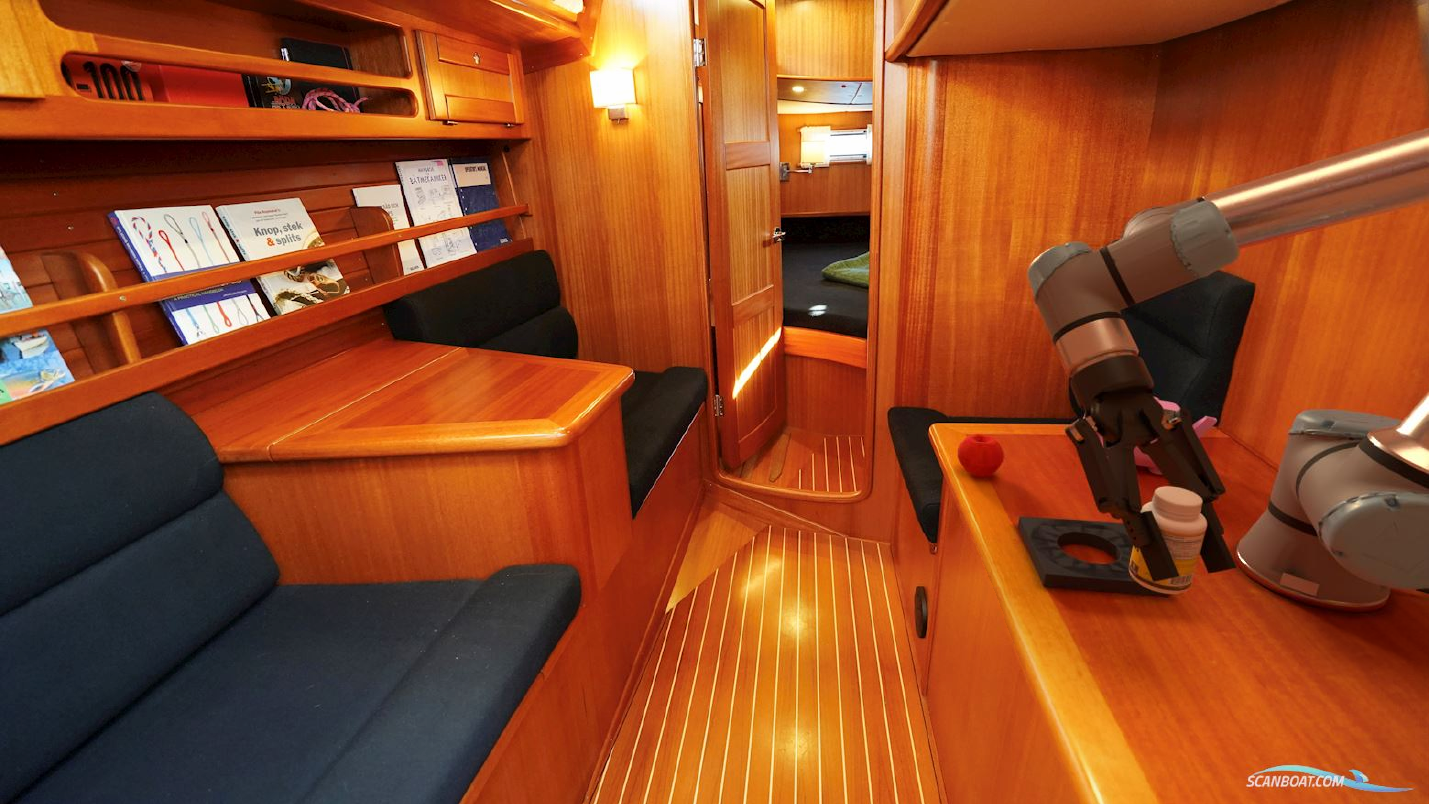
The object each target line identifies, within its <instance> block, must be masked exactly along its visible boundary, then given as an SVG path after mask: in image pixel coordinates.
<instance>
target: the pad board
mask: <svg viewBox="0 0 1429 804" xmlns="http://www.w3.org/2000/svg"><path fill="white" fill-rule="evenodd" d="M1017 522H1018V523H1017V529H1018V531H1019V533H1020V535H1021V536H1020V537H1021V538H1022V540H1023V543H1024V545H1025V548H1026V550H1027V552H1028V554H1029V556H1030V559H1031V561H1032V563H1033V565H1034V568H1035V570H1036V572H1037V574H1038V576H1039V579H1040V581H1041V584H1042V586H1043V588H1045V587H1047V588H1056V589H1071V590H1080V591H1081V590H1082V591H1094V592H1104V593H1115V594H1116V593H1117V594H1128V595H1129V594H1130V595H1139V596H1152V597H1161V598H1162V597H1164V598H1168V597H1169V596H1170V594H1166V593H1160V592H1156V591H1153V590H1151V589H1148V588H1146V587H1144V586H1142V585H1141V584H1139V583H1138V582H1137V581H1135V580H1134V579H1133V577H1132V576H1131V574H1130V572H1129V563H1130V559H1131V554H1132V549H1133V544H1132V543H1131V541H1130V537H1129V536H1128V533H1127V531H1126V528H1125V526H1124V524H1123V522H1112V521H1099V520H1086V519H1085V520H1082V519H1069V518H1068V519H1067V518H1053V517H1040V516H1039V517H1036V516H1022V515H1020V516H1019V517H1018V521H1017ZM1071 544H1075V545H1076V544H1077V545H1085V546H1089V547H1093V548H1096V549H1099V550H1101V551H1103V552H1105V553H1107V554H1108V555H1109V556H1111V557H1112V558H1113V559H1114V560H1115V561H1114V562H1107V563H1099V562H1090V561H1087V560H1086V561H1085V560H1082V559H1078V558H1076V557H1074V556H1072V555H1070V554H1068V553H1067V552H1065V550H1063V549H1062V548H1061V546H1063V545H1071ZM1169 598H1170V597H1169Z"/></svg>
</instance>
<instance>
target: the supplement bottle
mask: <svg viewBox="0 0 1429 804" xmlns="http://www.w3.org/2000/svg"><path fill="white" fill-rule="evenodd" d="M1201 506H1202V499H1201V497H1200V496H1198V495H1197V494H1195V493H1194V492H1191V491H1189V490H1186V489H1182V488H1178V487H1172V486H1168V485H1167V486H1166V485H1165V486H1160V487H1157V488H1156V489H1155V491H1154V493H1153V497H1152V498H1151V501H1149V502H1147V503H1145V504H1144V505H1142V510H1141V511H1140V512H1141V513H1142V512H1145V511H1152V513H1153V515H1154V517H1155V520H1156V522H1157V524H1158V527H1159V529H1160V531H1161V533H1162V536H1163V538H1164V540H1165V543H1166V545H1167V547H1168V550H1169V552H1170V554H1171V557H1172V559H1173V561H1174V564H1175V566H1176V568H1177V571H1178V573H1179V575H1180V576H1178V577H1174V578H1170V579H1165V580H1161V581H1155V582H1153V580H1152V578H1151V575H1150V573H1149V570H1148V568H1147V566H1146V563H1145V561H1144V558H1143V556H1142V553H1141V551H1140V549H1139V547H1138V548H1135V547H1134V546H1133V549H1132V554H1131V559H1130V563H1129V572H1130V574H1131V576H1132V577H1133V579H1134V580H1135V581H1137V582H1138V583H1139V584H1141V585H1142V586H1144V587H1146V588H1148V589H1151V590H1153V591H1156V592H1160V593H1166V594H1169V595H1179V594H1182V593H1183V594H1184V593H1185V592H1187V591H1188V590H1189V589H1191V586H1192V584H1193V581H1194V576H1195V572H1196V568H1197V565H1198V561H1199V558H1200V550H1201V546H1202V542H1203V539H1204V535H1205V531H1206V528H1207V521H1206V519H1205V517H1204V516H1203V515H1202V514H1201V513H1200V512H1201Z"/></svg>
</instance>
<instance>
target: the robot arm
mask: <svg viewBox="0 0 1429 804" xmlns="http://www.w3.org/2000/svg"><path fill="white" fill-rule="evenodd" d="M1424 203H1429V127H1427V128H1423V129H1419V130H1417V131H1413V132H1410V133H1406V134H1403V135H1399V136H1397V137H1393V138H1390V139H1387V140H1383V141H1379V142H1377V143H1373V144H1369V145H1367V146H1364V147H1360V148H1357V149H1354V150H1350V151H1348V152H1344V153H1340V154H1337V155H1334V156H1330V157H1327V158H1324V159H1320V160H1316V161H1313V162H1310V163H1307V164H1304V165H1300V166H1297V167H1293V168H1291V169H1287V170H1284V171H1283V170H1282V171H1280V172H1278V173H1274V174H1270V175H1267V176H1264V177H1260V178H1257V179H1254V180H1250V181H1248V182H1243V183H1241V184H1237V185H1233V186H1231V187H1227V188H1223V189H1221V190H1217V191H1214V192H1211V193H1207V194H1203V195H1201V196H1199V197H1195V198H1191V199H1187V200H1184V201H1181V202H1177V203H1174V204H1171V205H1168V206H1155V207H1151V208H1148V209H1145V210H1142V211H1140V212H1138V213H1137V214H1136V215H1135V216H1133V217H1132V218H1131V219H1130V220H1129V221H1128V222H1127V224H1126V226H1125V227H1124V229H1123V230H1122V233H1121V236H1120V239H1118V240H1116V241H1114V242H1112V243H1110V244H1109V245H1105V246H1103V247H1101V248H1098V249H1095V250H1093V249H1092V248H1091V247H1090V246H1089V245H1088V244H1087V243H1086V242H1083V241H1068V242H1066V243H1064V244H1063V245H1059V244H1058V245H1054V246H1052V247H1050V248H1049V249H1046V250H1045V251H1044V252H1041V254H1039V255H1038V256H1037V257H1036V258H1035V259H1034V260H1033V261H1032V262H1031V264H1030V265H1029V267H1028V270H1027V279H1028V282H1029V284H1030V288H1031V291H1032V294H1033V300H1034V302H1035V305H1036V307H1037V309H1038V311H1039V313H1040V315H1041V318H1042V321H1043V322H1044V324H1045V327H1046V329H1047V332H1048V334H1049V336H1050V338H1051V339H1050V340H1051V341H1052V343H1053V346H1054V348H1055V352H1056V354H1057V355H1058V358H1059V361H1060V363H1061V366H1062V368H1063V371H1064V373H1065V375H1066V376H1067V377H1068V378H1070V381H1069V386H1070V388H1071V390H1072V393H1073V396H1074V399H1075V400H1076V403H1077V406H1078V407H1079V408H1080V409H1081V410H1083V411H1084V415H1085V419H1084V417H1080V418H1079V419H1076V420H1075V421H1073V422H1072V423H1071V424H1070V425H1068V426H1066V427H1065V428H1064V432H1065V434H1066V436H1067V437H1068V439H1069V440H1070V441H1071V443H1072V444H1073V445H1074V447H1075V449H1076V452H1077V456H1078V458H1079V460H1080V463H1081V466H1082V469H1083V471H1084V475H1085V478H1086V480H1087V484H1088V486H1089V488H1090V491H1091V494H1092V498H1093V500H1094V503H1095V506H1096V509H1097V510H1098V511H1099V513H1101V514H1103V515H1104V514H1110V517H1112V518H1113V519H1114V520H1121V521H1122V523H1123V524H1124V526H1125V528H1126V531H1127V533H1128V536H1129V537H1130V541H1131V543H1132V544H1133V546H1134V547H1135V548H1138V547H1139V549H1140V551H1141V553H1142V556H1143V558H1144V561H1145V563H1146V566H1147V568H1148V570H1149V573H1150V575H1151V578H1152V580H1153V582H1155V581H1161V580H1165V579H1170V578H1174V577H1178V576H1180V575H1179V573H1178V571H1177V568H1176V566H1175V564H1174V561H1173V559H1172V557H1171V554H1170V552H1169V550H1168V547H1167V545H1166V543H1165V540H1164V538H1163V536H1162V533H1161V531H1160V529H1159V527H1158V524H1157V522H1156V520H1155V517H1154V515H1153V513H1152V511H1145V512H1142V513H1141V510H1142V507H1143V504H1142V498H1141V497H1142V496H1141V491H1140V484H1139V476H1138V471H1137V465H1136V463H1135V457H1134V449H1135V447H1136V446H1137V447H1138V448H1139V449H1140V451H1141V452H1142V453H1143V454H1146V455H1148V456H1149V457H1150V458H1151V460H1152V461H1153V462H1154V464H1155V465H1156V466H1157V468H1158V469H1159V470H1160V472H1161V473H1162V476H1163V477H1164V478H1165V480H1166V481H1167V483H1168V484H1169V485H1170V487H1178V488H1182V489H1186V490H1189V491H1191V492H1193V493H1195V494H1197V495H1198V496H1200V497H1201V499H1202V506H1201V512H1200V513H1201V514H1202V515H1203V516H1204V517H1205V519H1206V521H1207V528H1206V531H1205V535H1204V539H1203V542H1202V546H1201V550H1200V554H1199V556H1200V558H1201V560H1202V562H1203V564H1204V566H1205V569H1206V571H1207V573H1208V574H1215V573H1220V572H1225V571H1228V570H1233V569H1237V568H1238V567H1239V568H1240V569H1241V570H1242V572H1244V573H1245V574H1246V575H1247V576H1248V577H1250V578H1251V579H1253V581H1256V582H1257V583H1258V584H1260V585H1261V586H1263V587H1266V588H1267V589H1268V590H1271V591H1273V592H1275V593H1277V594H1279V595H1282V596H1284V597H1286V598H1290V599H1292V600H1294V601H1297V602H1300V603H1303V604H1306V605H1311V606H1315V607H1318V608H1321V609H1327V610H1333V611H1338V612H1349V613H1363V612H1365V613H1366V612H1372V611H1376V610H1379V609H1381V608H1382V607H1384V606H1385V605H1386V603H1387V602H1388V599H1389V596H1390V594H1391V589H1395V590H1396V589H1397V590H1401V591H1402V590H1404V591H1417V592H1420V593H1422V594H1423V593H1424V594H1427V595H1429V390H1428V391H1427V392H1426V393H1425V395H1424V396H1423V397H1422V398H1421V399H1420V400H1419V402H1418V403H1417V404H1416V405H1415V406H1414V407H1413V408H1412V410H1410V412H1409V413H1408V414H1407V416H1405V418H1404V419H1402V420H1401V419H1398V418H1395V417H1389V416H1384V415H1379V414H1373V413H1368V412H1367V413H1366V412H1361V411H1353V410H1345V409H1344V410H1343V409H1329V408H1325V409H1324V408H1318V409H1317V408H1315V409H1307V410H1304V411H1301V412H1299V413H1298V414H1297V415H1296V417H1295V418H1294V419H1293V423H1292V425H1291V428H1290V429H1289V430H1288V431H1287V435H1288V436H1287V440H1286V443H1285V446H1284V450H1283V453H1282V457H1281V460H1280V464H1279V467H1278V470H1277V473H1276V477H1275V479H1274V483H1273V487H1272V491H1271V493H1270V497H1269V500H1268V503H1267V507H1266V510H1265V511H1264V512H1263V513H1262V514H1261V516H1260V517H1259V518H1258V519H1257V520H1256V522H1255V523H1254V524H1253V525H1252V526H1251V528H1249V530H1248V532H1246V534H1244V535H1243V536H1242V537H1241V539H1240V540H1239V542H1238V544H1237V546H1236V549H1235V554H1234V558H1233V556H1232V554H1231V552H1230V549H1229V548H1228V547H1229V546H1228V545H1227V543H1226V541H1225V539H1224V537H1223V535H1224V534H1225V529H1224V527H1223V525H1222V523H1221V520H1220V518H1219V516H1218V514H1217V512H1216V510H1215V508H1214V505H1213V502H1215V501H1218V500H1219V498H1220V496H1222V495H1224V494H1225V493H1226V492H1227V491H1226V487H1225V486H1224V483H1223V482H1222V479H1221V478H1220V476H1219V474H1218V472H1217V470H1216V468H1215V466H1214V464H1213V463H1212V461H1211V459H1210V457H1209V455H1208V453H1207V451H1206V449H1205V448H1204V445H1203V444H1202V442H1201V440H1200V439H1199V438H1198V436H1197V434H1196V432H1195V430H1194V429H1193V419H1192V415H1191V411H1190V410H1189V409H1188V408H1187V407H1183V406H1182V407H1179V408H1180V409H1178V410H1177V411H1174V410H1168V409H1163V407H1162V405H1161V404H1160V403H1159V402H1158V401H1157V400H1156V399H1155V398H1154V397H1155V396H1154V394H1153V393H1154V385H1155V384H1154V380H1153V378H1152V376H1151V374H1150V372H1149V370H1148V368H1147V365H1146V363H1145V361H1144V359H1143V358H1142V357H1140V356H1138V355H1139V352H1140V350H1139V348H1138V346H1137V344H1136V342H1135V339H1134V338H1133V336H1132V333H1131V332H1130V329H1129V328H1128V325H1127V324H1126V323H1127V322H1126V321H1125V319H1124V317H1123V315H1122V313H1121V311H1122V310H1125V309H1126V308H1129V307H1132V306H1135V305H1136V304H1139V303H1141V302H1144V301H1146V300H1149V299H1151V298H1154V297H1156V296H1159V295H1161V294H1164V293H1167V292H1169V291H1171V290H1173V289H1176V288H1178V287H1182V286H1183V285H1187V284H1189V283H1191V282H1194V281H1197V280H1198V279H1201V278H1202V279H1204V278H1207V277H1210V275H1211V274H1212V273H1215V272H1217V271H1219V270H1220V269H1223V268H1224V267H1227V266H1229V265H1232V264H1233V263H1235V262H1236V261H1237V260H1238V258H1239V256H1240V250H1243V249H1247V248H1252V247H1255V246H1258V245H1262V244H1266V243H1270V242H1274V241H1278V240H1282V239H1285V238H1290V237H1294V236H1298V235H1302V234H1305V233H1309V232H1313V231H1318V230H1321V229H1326V228H1329V227H1333V226H1337V225H1341V224H1346V223H1349V222H1353V221H1357V220H1362V219H1366V218H1368V217H1373V216H1376V215H1380V214H1385V213H1388V212H1392V211H1397V210H1400V209H1404V208H1408V207H1412V206H1416V205H1420V204H1424ZM1096 432H1097V433H1098V434H1099V435H1101V436H1102V440H1103V446H1102V443H1101V441H1100V438H1099V436H1098V435H1097V433H1096ZM1156 438H1157V441H1155V442H1154V443H1150V442H1152V441H1154V440H1156ZM1103 447H1104V448H1103ZM1107 457H1108V459H1107ZM1234 559H1235V560H1234ZM1237 566H1238V567H1237Z"/></svg>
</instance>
